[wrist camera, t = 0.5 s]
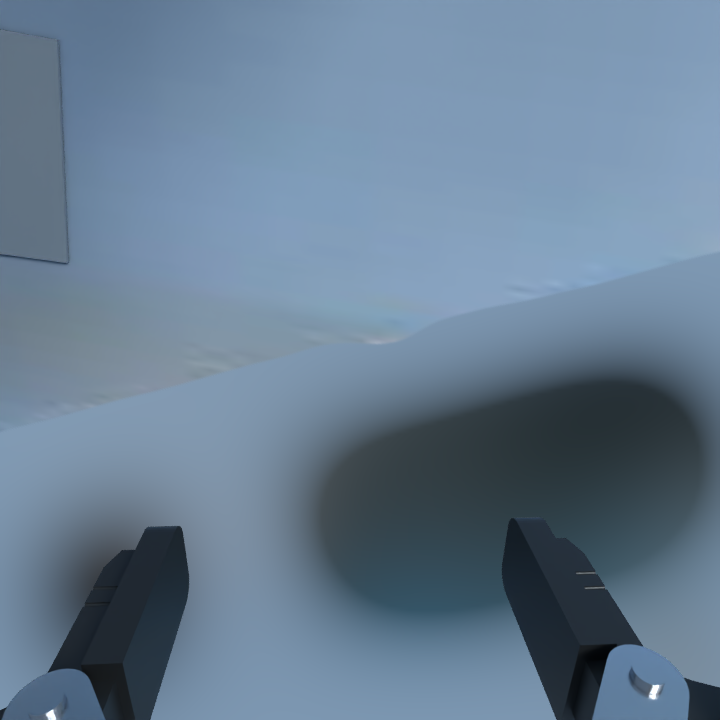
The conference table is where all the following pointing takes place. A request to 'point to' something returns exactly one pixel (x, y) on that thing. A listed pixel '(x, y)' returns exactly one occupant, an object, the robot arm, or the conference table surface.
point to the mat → (32, 149)
